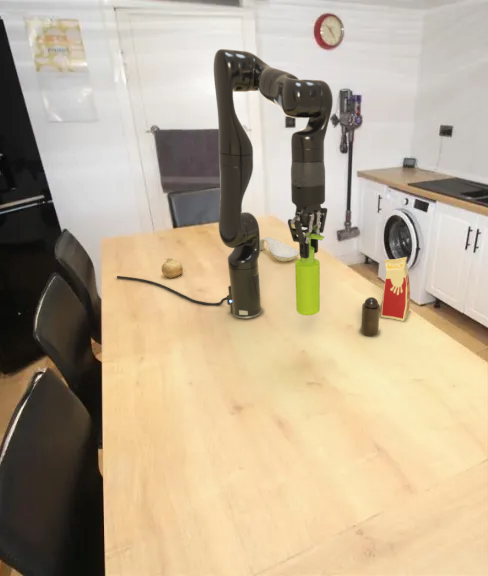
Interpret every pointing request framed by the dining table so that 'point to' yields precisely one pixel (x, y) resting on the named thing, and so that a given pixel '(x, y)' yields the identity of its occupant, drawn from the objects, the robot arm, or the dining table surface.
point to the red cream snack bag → (396, 290)
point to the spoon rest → (280, 249)
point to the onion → (171, 268)
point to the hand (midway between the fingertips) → (309, 254)
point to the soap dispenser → (308, 281)
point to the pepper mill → (370, 317)
